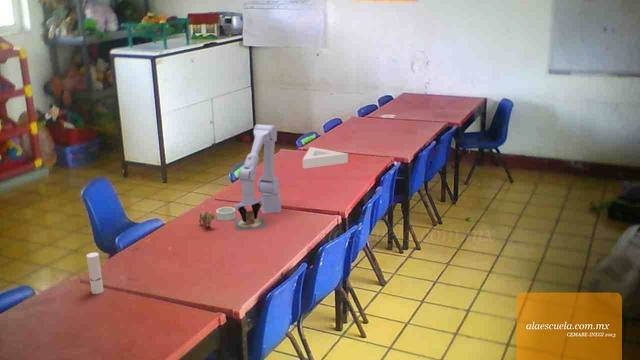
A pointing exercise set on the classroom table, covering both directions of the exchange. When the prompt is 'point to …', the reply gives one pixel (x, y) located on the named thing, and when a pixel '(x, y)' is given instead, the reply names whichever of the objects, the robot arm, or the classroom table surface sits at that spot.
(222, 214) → the bowl
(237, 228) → the mat
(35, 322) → the classroom table surface
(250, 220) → the lid
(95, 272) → the tube
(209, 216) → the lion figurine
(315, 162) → the triangle block
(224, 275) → the classroom table surface
